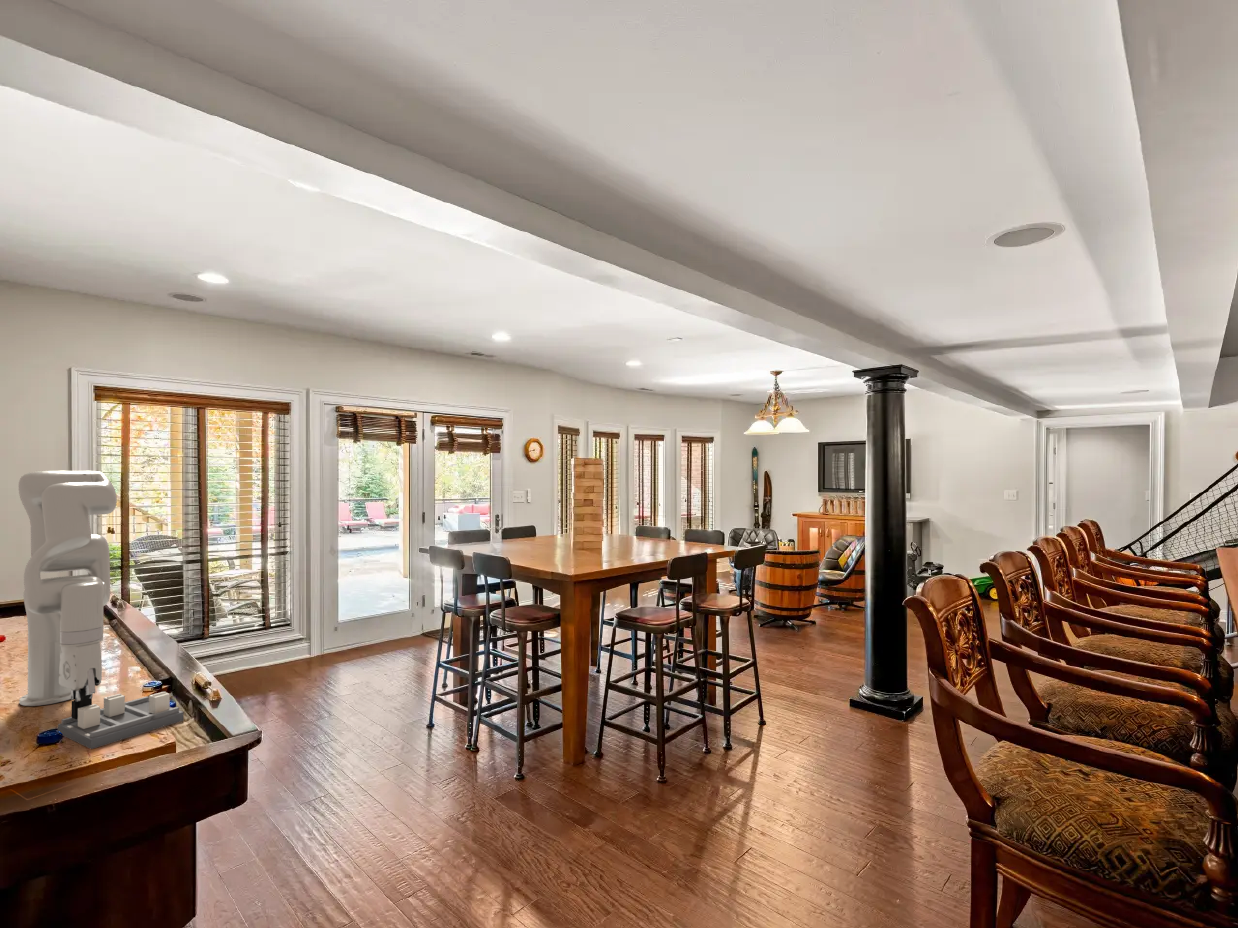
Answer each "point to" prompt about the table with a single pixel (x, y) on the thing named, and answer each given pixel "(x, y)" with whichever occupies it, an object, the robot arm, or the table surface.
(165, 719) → the switch bank
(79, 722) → the tab
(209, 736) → the table surface
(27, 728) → the table surface
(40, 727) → the table surface
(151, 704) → the tab
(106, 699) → the tab
